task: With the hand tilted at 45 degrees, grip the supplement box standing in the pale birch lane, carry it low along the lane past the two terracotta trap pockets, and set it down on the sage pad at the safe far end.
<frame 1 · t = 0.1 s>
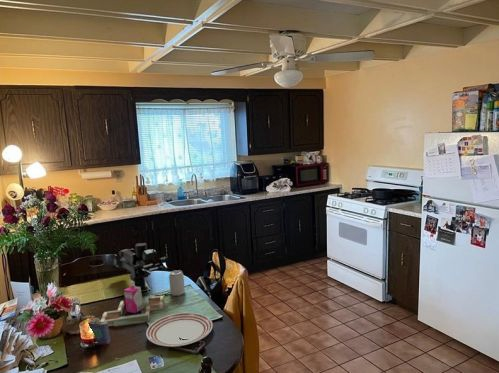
hand: (158, 271, 186), 17 cm above the table, tool horizontal, fingers open, 9 cm apart
trap lane: (134, 312, 180), on the table
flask: (100, 342, 155), on the table
can: (177, 294, 198), on the table
dinner plate: (180, 334, 157), on the table
supplement box: (135, 311, 182), resting on trap lane
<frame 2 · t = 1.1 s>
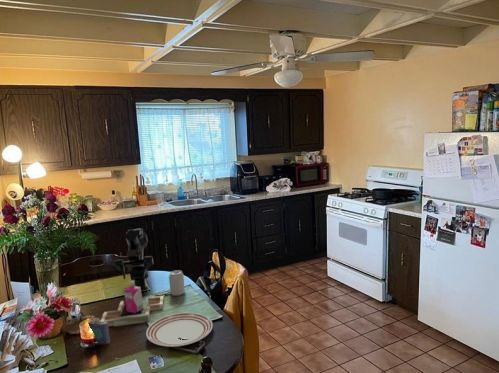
hand: (134, 278, 187), 14 cm above the table, tool tilted 45°, fingers open, 9 cm apart
nothing on the table moved.
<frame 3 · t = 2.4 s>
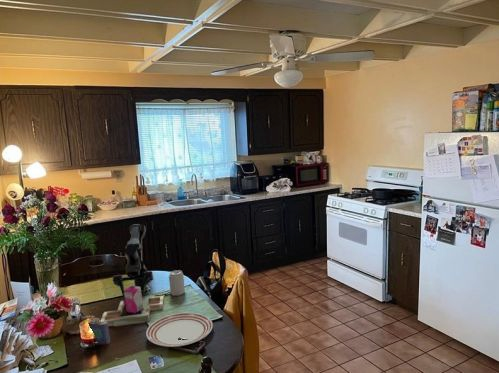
hand: (133, 294, 181), 8 cm above the table, tool tilted 45°, fingers open, 9 cm apart
nothing on the table moved.
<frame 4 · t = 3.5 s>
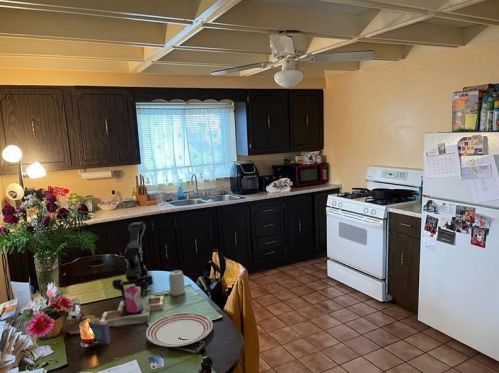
hand: (133, 298, 179), 7 cm above the table, tool tilted 45°, fingers closed on supplement box, 8 cm apart
supplement box: (135, 311, 182), resting on trap lane, touching gripper
everything else where it was.
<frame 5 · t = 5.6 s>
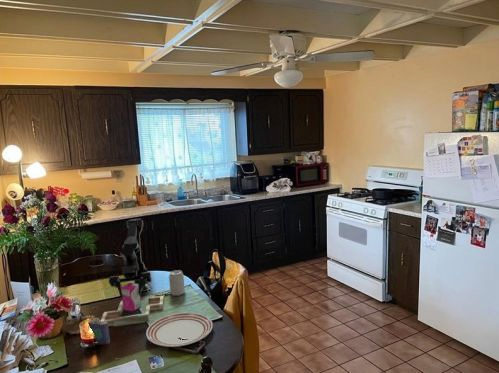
hand: (130, 296, 172), 11 cm above the table, tool tilted 45°, fingers closed on supplement box, 8 cm apart
supplement box: (132, 309, 174), point 4 cm above the table, touching gripper
everything else where it was.
when the fingers open (8 cm above the table, at t = 7.4 s): supplement box stays where it is, resting on trap lane.
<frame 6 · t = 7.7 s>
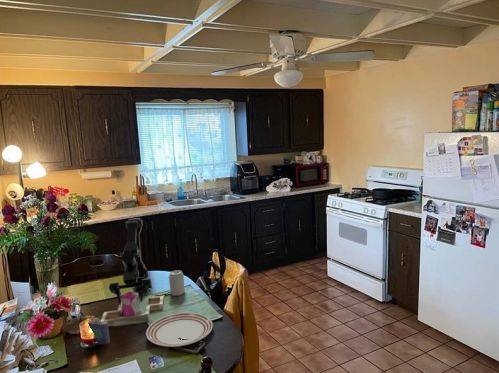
hand: (130, 303, 171), 8 cm above the table, tool tilted 45°, fingers open, 9 cm apart
supplement box: (132, 318, 174), resting on trap lane
everything else where it was.
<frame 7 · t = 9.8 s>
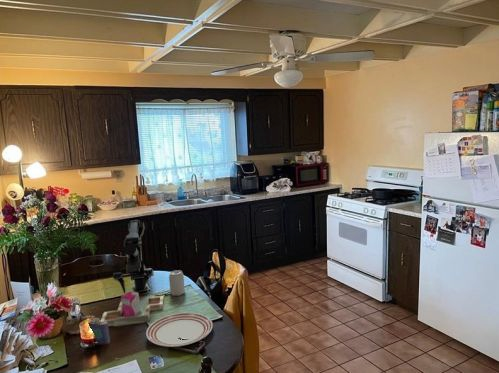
hand: (134, 291, 182), 9 cm above the table, tool tilted 30°, fingers open, 9 cm apart
nothing on the table moved.
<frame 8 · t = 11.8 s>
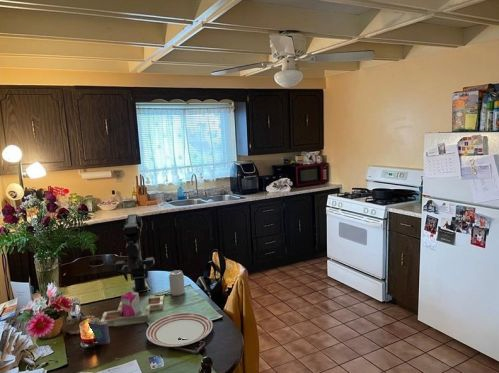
hand: (136, 279, 189), 12 cm above the table, tool pointing down, fingers open, 9 cm apart
nothing on the table moved.
at the end: supplement box 0.5 cm from the target spot, resting on trap lane; supplement box tilted 0°; the gripper is holding nothing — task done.
